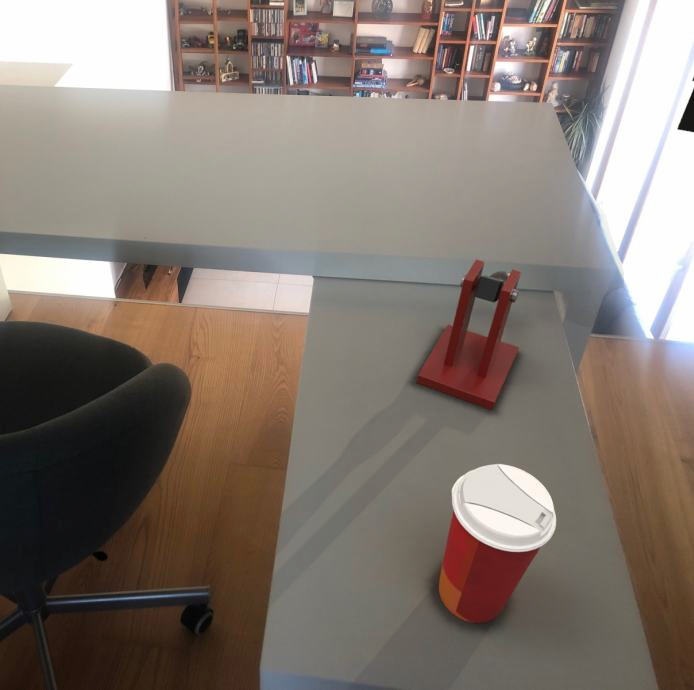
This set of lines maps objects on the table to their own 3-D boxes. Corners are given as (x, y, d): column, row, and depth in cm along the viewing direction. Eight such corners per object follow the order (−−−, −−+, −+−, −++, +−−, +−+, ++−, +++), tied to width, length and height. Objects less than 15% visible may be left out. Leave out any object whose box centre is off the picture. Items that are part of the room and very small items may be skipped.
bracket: (446, 331, 90) (467, 240, 81) (516, 354, 86) (547, 261, 77) (416, 382, 82) (435, 289, 73) (491, 410, 79) (522, 315, 70)
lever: (483, 294, 89) (493, 267, 88) (512, 303, 87) (522, 275, 87) (465, 299, 76) (476, 268, 75) (498, 309, 75) (509, 277, 74)
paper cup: (531, 591, 62) (578, 495, 53) (488, 654, 58) (532, 561, 49) (453, 540, 66) (484, 442, 57) (408, 594, 62) (434, 499, 53)
